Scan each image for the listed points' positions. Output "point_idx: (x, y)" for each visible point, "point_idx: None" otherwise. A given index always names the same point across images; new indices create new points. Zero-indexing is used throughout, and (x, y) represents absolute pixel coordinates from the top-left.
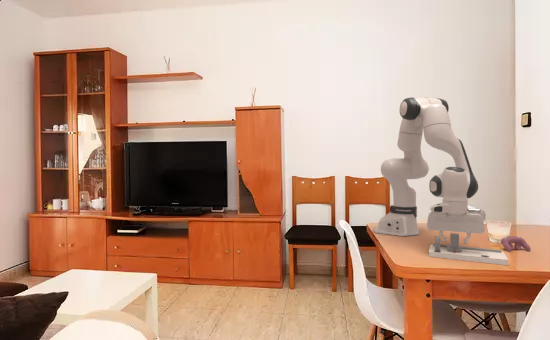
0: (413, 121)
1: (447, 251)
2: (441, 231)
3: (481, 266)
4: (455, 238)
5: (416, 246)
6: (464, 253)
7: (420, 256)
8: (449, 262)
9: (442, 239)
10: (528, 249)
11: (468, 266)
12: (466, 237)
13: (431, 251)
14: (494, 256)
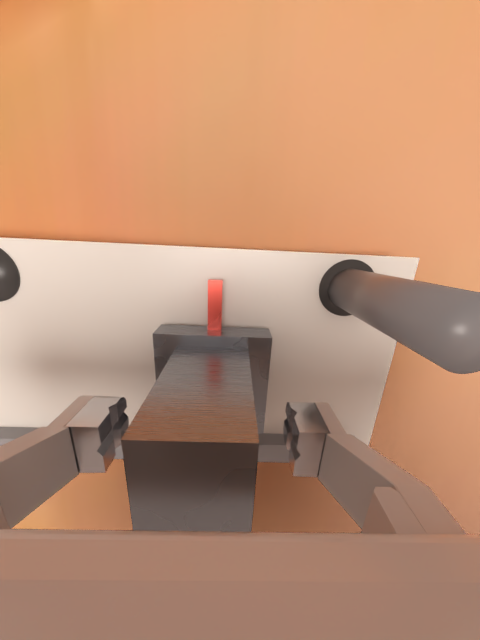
0: None
1: (267, 317)
2: (418, 520)
3: (29, 109)
4: (188, 403)
5: (419, 469)
6: (143, 306)
7: (451, 233)
8: (259, 132)
9: (333, 415)
10: None
11: (119, 56)
12: (50, 474)
13: (397, 264)
14: None
